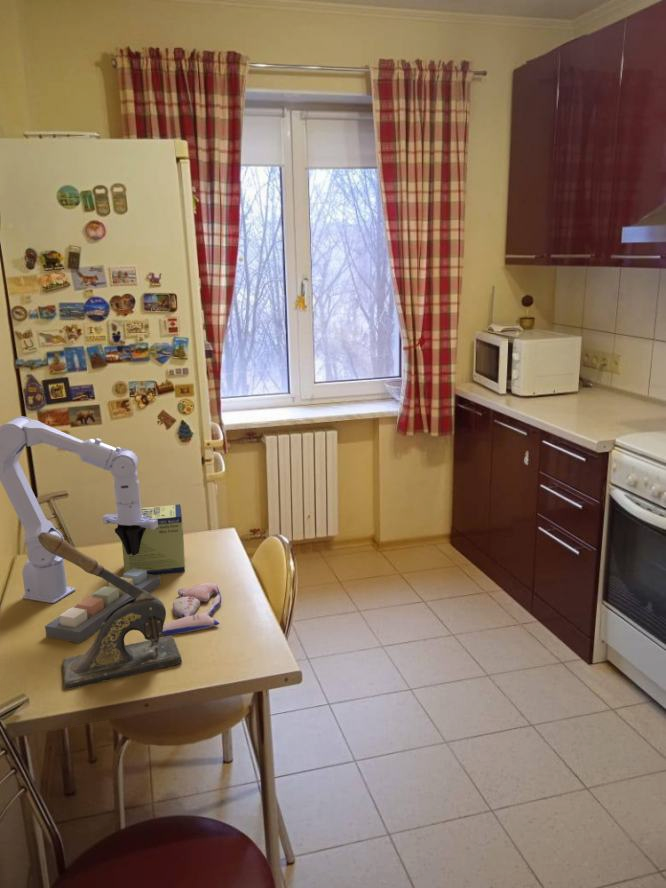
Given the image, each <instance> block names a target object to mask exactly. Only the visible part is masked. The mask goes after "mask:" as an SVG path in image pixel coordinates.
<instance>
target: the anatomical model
mask: <svg viewBox="0 0 666 888" xmlns="http://www.w3.org/2000/svg"><path fill="white" fill-rule="evenodd" d="M220 592H221V591H220V590H219V587H218V584H216V583H213V582H206V583H200V584H197V585H196V584H195V585H193V586H191V587H190V586H189V587H186V588H181V589H178V591H177V594H178V596H179V598H177V599H175V600H174V601H173V603H172V609H173V613H174V614H175V615H176V617H177V616H178V617H180V618H178V619H175V620H173V621H169V623H168V622H167V623H166V624H165V623H164V625H163V635H162V636H170V635H171V636H172V635H178V634H182V633H190V632H196V631H200V630H201V629H202V630H205V629H209V628H212V627H214V626H217V625H219V624H220V622H219V621H217V620H216V619H214V618H212V617H211V616H210V615H212V614H213V613H214V612H215V610H216V608H218V607H219V606H220V605H221V604H222V596H221V593H220ZM215 594H217V595H216V596H215V597H214V598H213V599H212V602H211V606H210V607H209V608H208V609H207V610H206V611H205V612H203V613H197V614H195V613H196V611H197V609H198V608H199V606H200V604H201V603H204V602H208V601H209V600H210V598H211V597H212V596H213V595H215Z"/></svg>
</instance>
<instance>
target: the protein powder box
mask: <svg viewBox="0 0 666 888" xmlns="http://www.w3.org/2000/svg"><path fill="white" fill-rule="evenodd" d="M141 512H142V515H143V516H146V517H149V518H152V519H157V520H158V527H157V528H156V529H154V530H151V529H150V528H146V530H145V532H144V534H143V537H142V540H141V544H140V550H139V553H138V554H136V555H132V553H131V554H130V555H127V553H126V550H125V547H124V545H123V543H122V542H121V547H122V558H123V570H124V573H126V572H128V571H129V570H131V569H132V568H137V569H144V570H147V574H151V575H158V576H160V575H169V574H180V573H185V571H186V566H185V561H186V559H185V544H184V543H185V541H184V527H183V525H184V524H183V515H182V508H181V504H171V505H163V506H162V505H159V506H150V507H149V506H148V507H147V506H146V507H141Z"/></svg>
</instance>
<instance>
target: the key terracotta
mask: <svg viewBox="0 0 666 888" xmlns="http://www.w3.org/2000/svg"><path fill="white" fill-rule="evenodd" d="M76 606H77V608H79V609H85V610H87V615H90V616H93V615H95V614H96V613H98V612H99V611H101V610H102V609H104V603H103V599H101V598H95V597H91V596H87V597H85V598H84V599H82V600H81V601H79V602H77V604H76Z"/></svg>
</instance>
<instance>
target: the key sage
mask: <svg viewBox="0 0 666 888" xmlns="http://www.w3.org/2000/svg"><path fill="white" fill-rule="evenodd" d="M92 595H93V597H95V598H101V599H103V603H104V604H106V605H109V604H111V603H112V602H114V601H115V600H117V599H118V598H119V589H118V588H111V587H106V586H103V587H101V588H100V589H98V590H96V591H95V592H94V593H92Z"/></svg>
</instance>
